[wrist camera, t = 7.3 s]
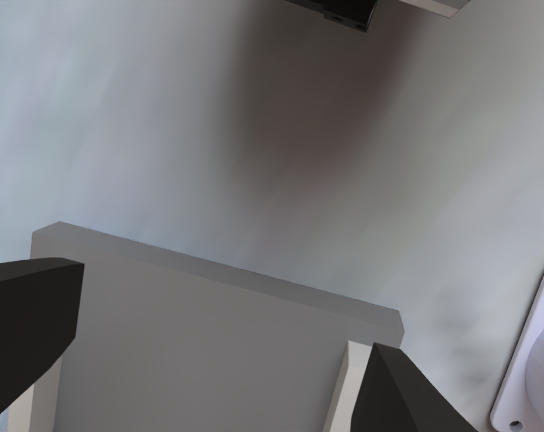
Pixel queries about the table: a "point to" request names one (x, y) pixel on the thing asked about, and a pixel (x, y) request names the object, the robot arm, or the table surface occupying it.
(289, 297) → the grey shallow rectangular tray
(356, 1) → the circuit breaker
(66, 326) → the robot arm
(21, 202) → the table surface
